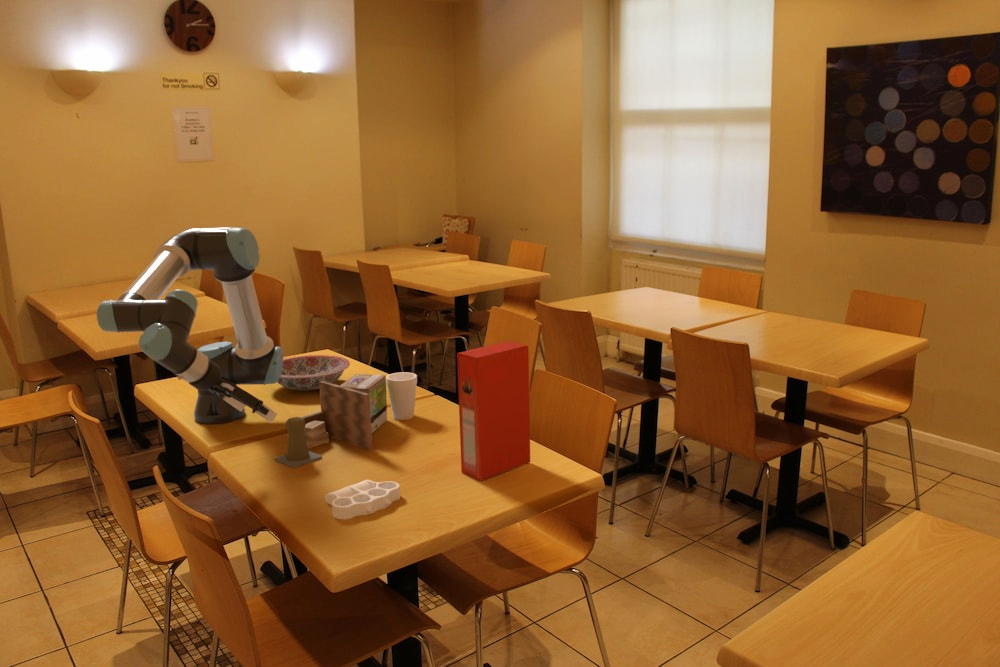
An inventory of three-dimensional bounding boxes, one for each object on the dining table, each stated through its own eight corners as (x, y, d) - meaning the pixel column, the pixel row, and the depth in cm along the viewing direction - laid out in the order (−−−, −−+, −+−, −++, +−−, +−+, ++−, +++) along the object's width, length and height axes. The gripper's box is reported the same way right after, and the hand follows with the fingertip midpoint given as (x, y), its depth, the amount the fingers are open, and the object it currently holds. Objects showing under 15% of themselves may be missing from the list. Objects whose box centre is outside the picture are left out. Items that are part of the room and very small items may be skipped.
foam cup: (382, 419, 254) (380, 379, 251) (397, 410, 263) (395, 371, 260) (409, 422, 251) (407, 381, 248) (423, 413, 259) (422, 373, 256)
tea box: (371, 436, 240) (368, 388, 236) (339, 434, 242) (335, 386, 238) (388, 419, 254) (386, 373, 251) (357, 418, 256) (354, 372, 253)
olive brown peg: (289, 462, 219) (286, 423, 217) (284, 455, 225) (281, 417, 222) (312, 458, 222) (309, 419, 219) (306, 451, 227) (303, 413, 225)
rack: (293, 443, 235) (288, 390, 231) (326, 432, 243) (322, 380, 240) (339, 461, 221) (335, 404, 218) (372, 448, 230) (369, 394, 226)
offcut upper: (301, 437, 232) (300, 426, 232) (314, 430, 238) (313, 420, 237) (313, 438, 231) (312, 428, 230) (325, 431, 236) (324, 421, 236)
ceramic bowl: (367, 380, 297) (366, 359, 295) (318, 403, 271) (316, 380, 269) (301, 372, 308) (299, 352, 307) (248, 394, 283) (246, 371, 281)
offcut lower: (300, 445, 234) (299, 435, 233) (321, 439, 239) (320, 429, 238) (308, 449, 231) (307, 439, 231) (329, 442, 236) (328, 432, 235)
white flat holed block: (375, 485, 207) (412, 502, 196) (313, 508, 194) (349, 527, 184) (374, 472, 206) (411, 488, 196) (312, 494, 193) (348, 513, 183)
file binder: (460, 472, 212) (457, 352, 205) (509, 455, 224) (507, 340, 216) (481, 481, 206) (478, 358, 199) (530, 463, 218) (529, 345, 211)
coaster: (274, 459, 223) (274, 457, 223) (302, 450, 230) (302, 448, 229) (294, 467, 217) (294, 465, 217) (322, 457, 224) (321, 455, 224)
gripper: (163, 373, 203) (224, 414, 218) (216, 393, 188) (278, 436, 202) (180, 348, 206) (239, 390, 221) (235, 366, 190) (295, 410, 205)
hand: (258, 412), depth 211 cm, fingers open, 13 cm apart
